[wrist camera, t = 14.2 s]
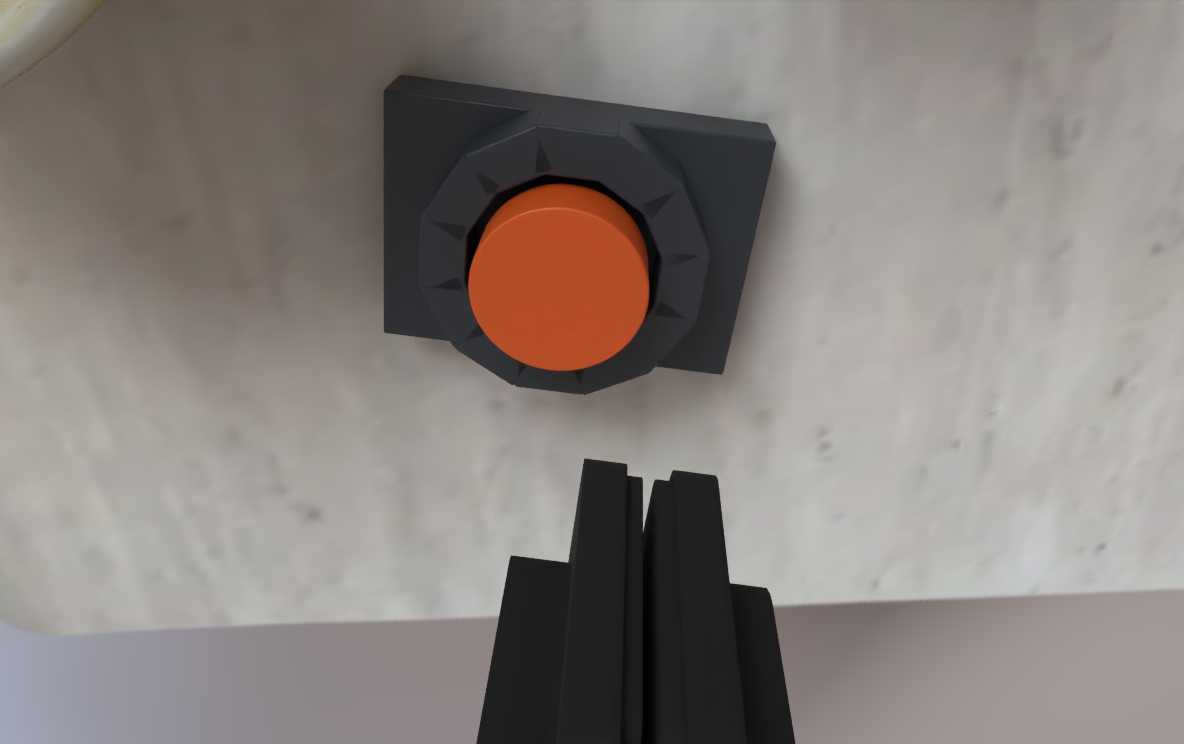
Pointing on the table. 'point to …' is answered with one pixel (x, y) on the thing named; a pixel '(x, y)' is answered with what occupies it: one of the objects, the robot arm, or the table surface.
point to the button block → (581, 157)
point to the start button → (560, 277)
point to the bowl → (37, 31)
